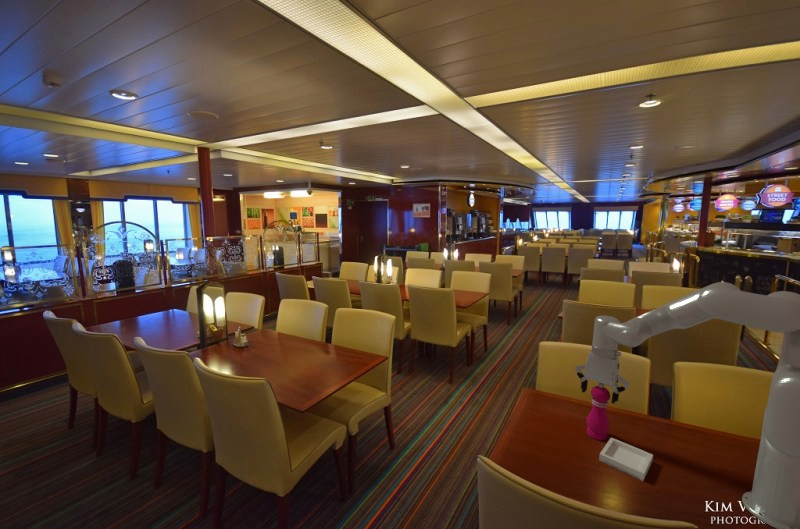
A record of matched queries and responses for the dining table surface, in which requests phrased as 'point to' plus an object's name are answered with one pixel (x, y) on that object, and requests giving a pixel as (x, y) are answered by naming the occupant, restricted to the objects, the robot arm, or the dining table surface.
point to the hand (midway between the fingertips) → (598, 396)
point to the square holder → (626, 458)
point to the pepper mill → (598, 413)
